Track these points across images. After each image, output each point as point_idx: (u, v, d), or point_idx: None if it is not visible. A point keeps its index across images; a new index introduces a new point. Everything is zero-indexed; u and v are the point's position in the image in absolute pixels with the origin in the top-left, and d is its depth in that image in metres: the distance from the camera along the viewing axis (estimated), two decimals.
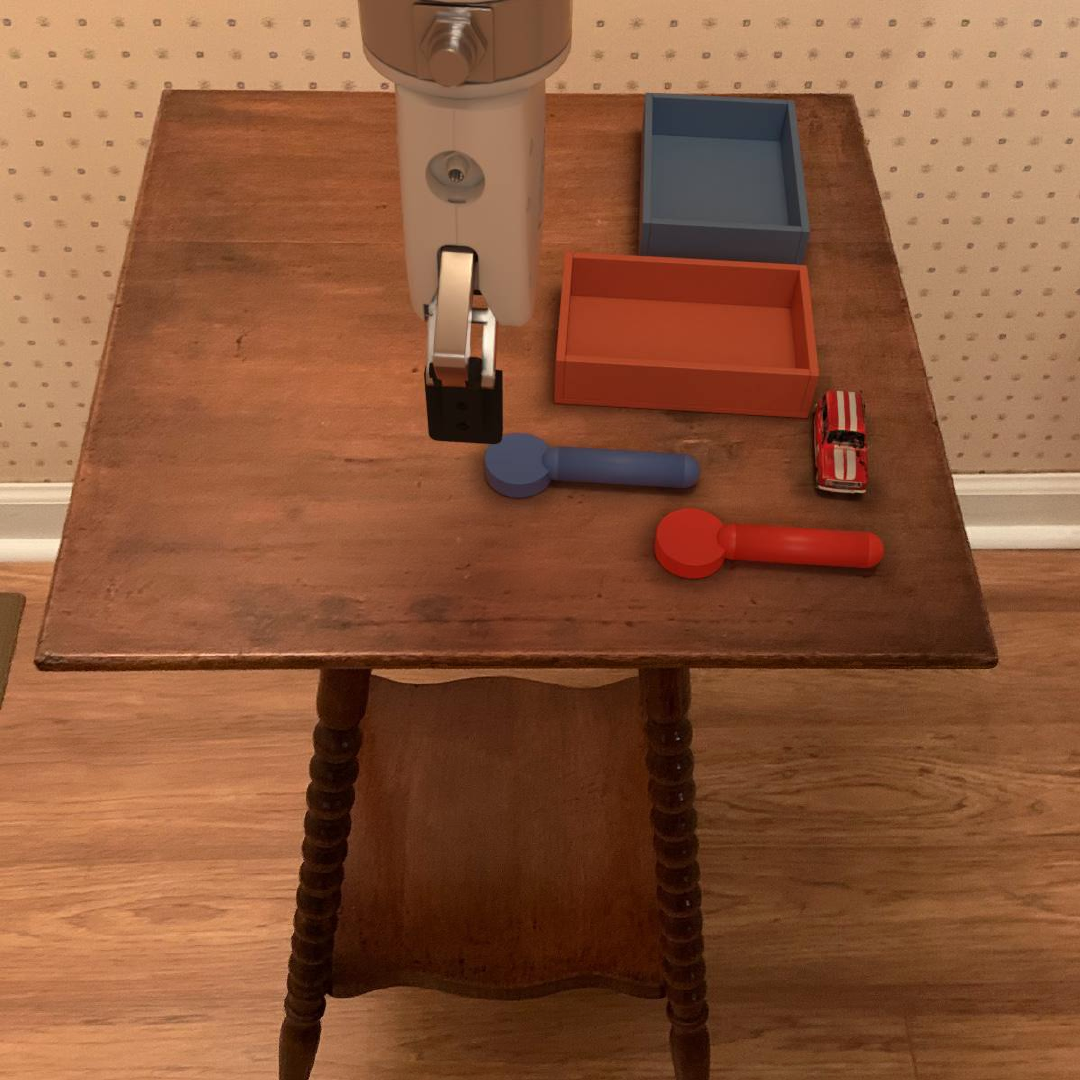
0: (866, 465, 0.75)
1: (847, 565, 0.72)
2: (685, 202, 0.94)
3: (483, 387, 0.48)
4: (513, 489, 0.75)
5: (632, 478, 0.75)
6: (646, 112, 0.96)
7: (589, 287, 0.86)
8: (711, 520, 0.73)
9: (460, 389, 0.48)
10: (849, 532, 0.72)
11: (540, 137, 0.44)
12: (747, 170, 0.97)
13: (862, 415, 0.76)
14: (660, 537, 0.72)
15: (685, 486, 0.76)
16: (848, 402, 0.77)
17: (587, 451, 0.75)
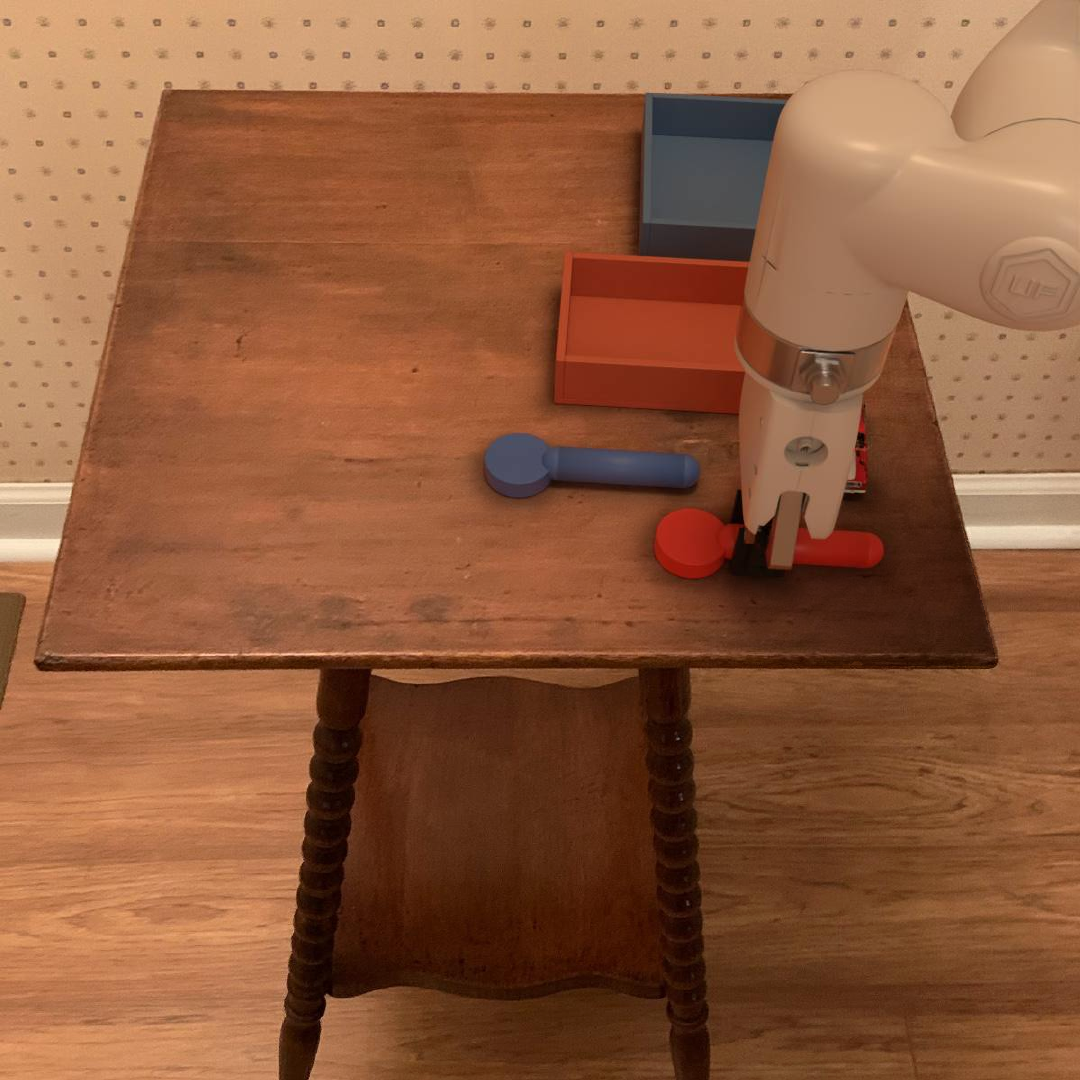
0: (866, 465, 0.75)
1: (847, 565, 0.72)
2: (685, 202, 0.94)
3: None
4: (513, 489, 0.75)
5: (632, 478, 0.75)
6: (646, 112, 0.96)
7: (589, 287, 0.86)
8: (711, 520, 0.73)
9: None
10: (849, 532, 0.72)
11: None
12: (747, 170, 0.97)
13: (862, 415, 0.76)
14: (660, 537, 0.72)
15: (685, 486, 0.76)
16: None
17: (587, 451, 0.75)
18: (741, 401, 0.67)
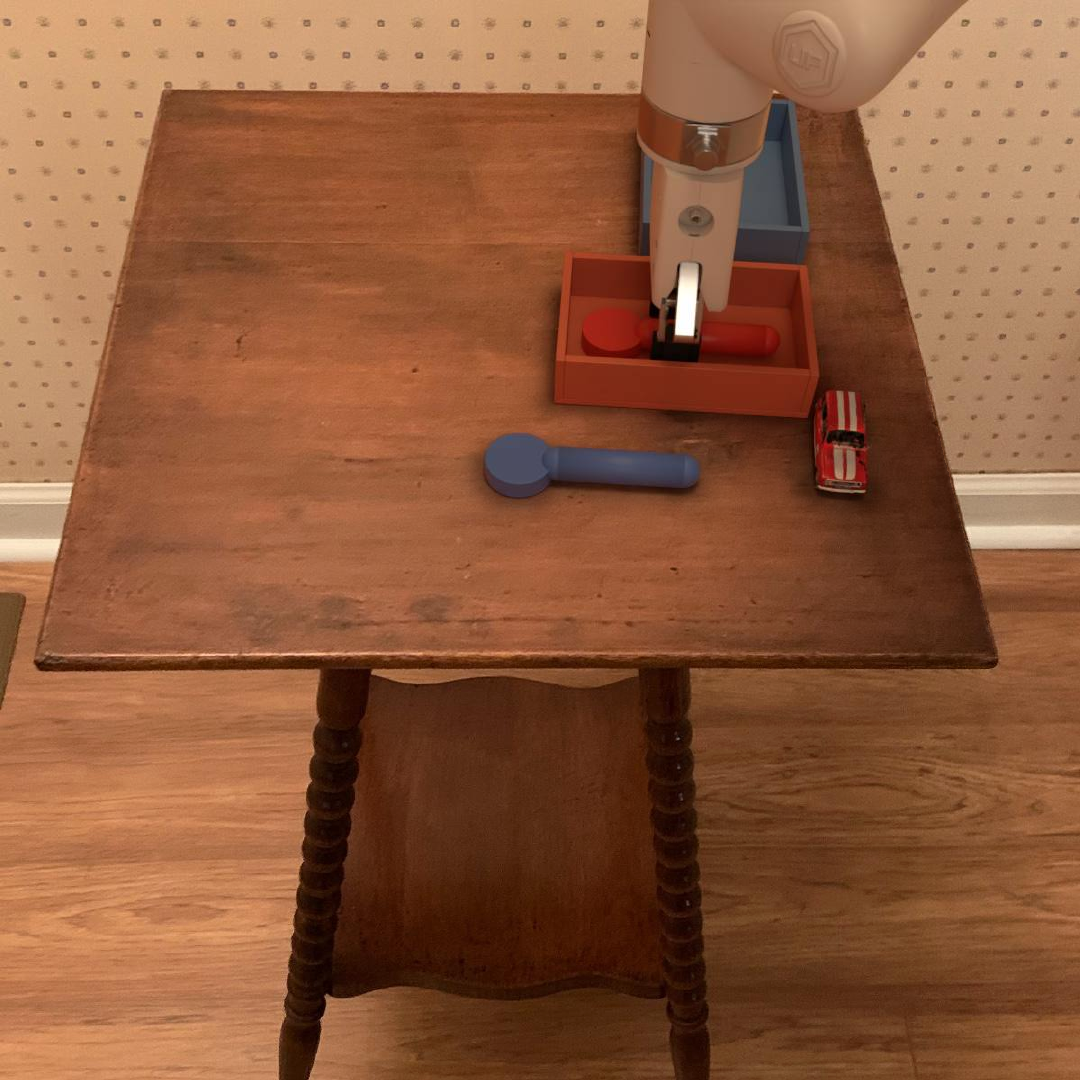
0: (866, 465, 0.75)
1: (748, 353, 0.82)
2: None
3: (692, 344, 0.78)
4: (513, 489, 0.75)
5: (632, 478, 0.75)
6: None
7: (589, 287, 0.86)
8: (630, 317, 0.84)
9: (677, 345, 0.78)
10: (749, 324, 0.82)
11: None
12: (747, 170, 0.97)
13: (862, 415, 0.76)
14: (585, 329, 0.83)
15: (685, 486, 0.76)
16: (848, 402, 0.77)
17: (587, 451, 0.75)
18: None
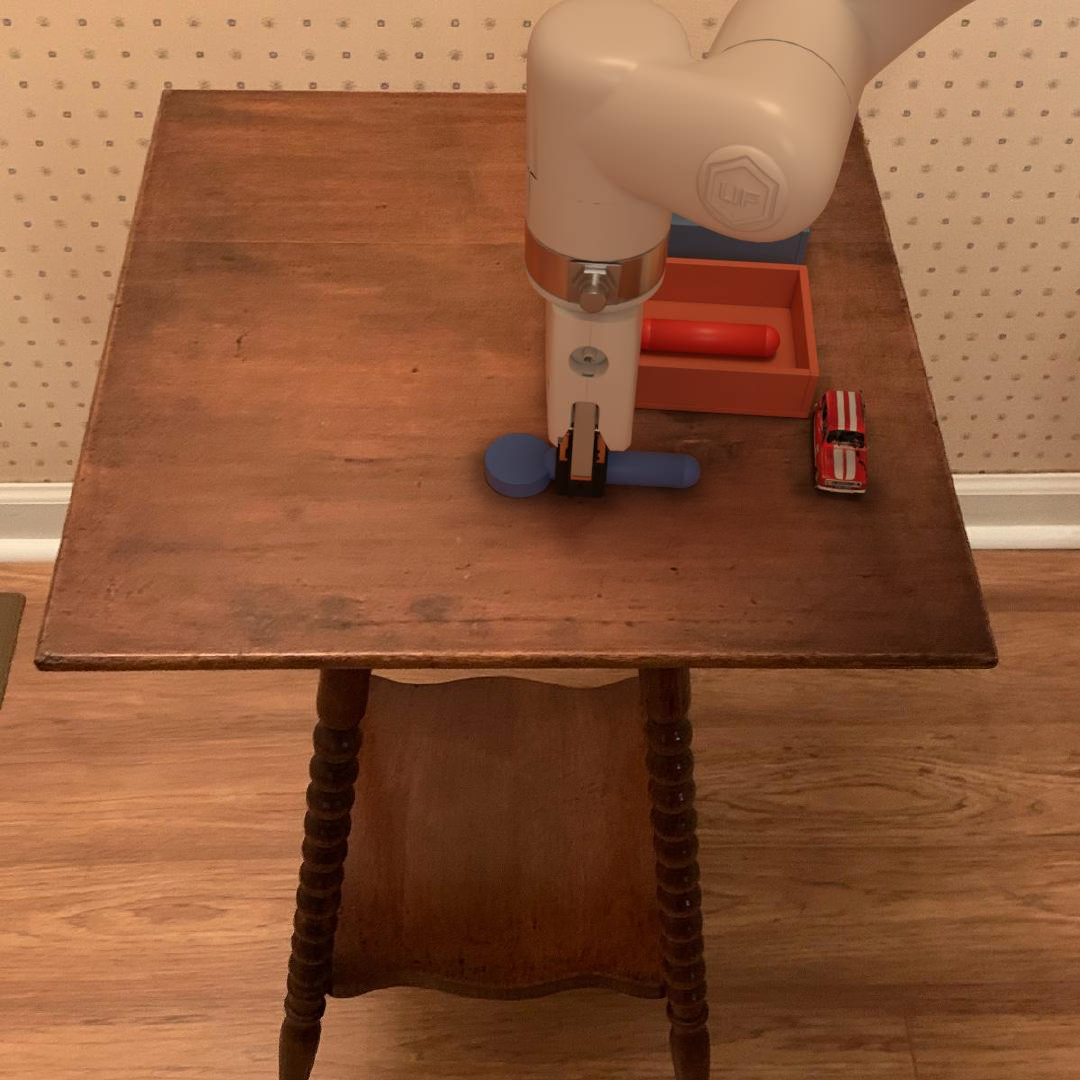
0: (866, 465, 0.75)
1: (748, 353, 0.82)
2: None
3: None
4: (513, 489, 0.75)
5: (632, 478, 0.75)
6: None
7: None
8: None
9: None
10: (749, 324, 0.82)
11: None
12: None
13: (862, 415, 0.76)
14: None
15: (685, 486, 0.76)
16: (848, 402, 0.77)
17: None
18: None
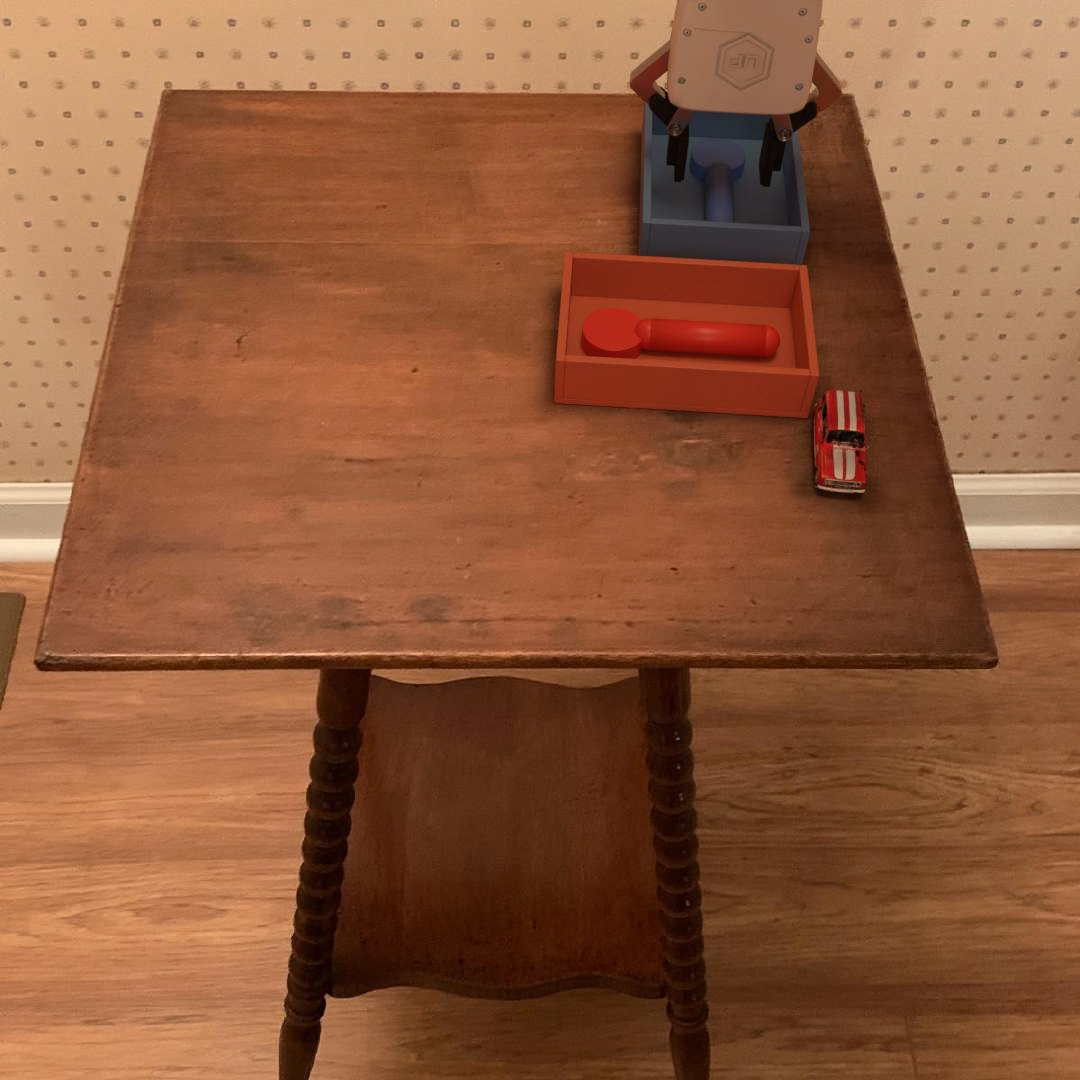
0: (865, 465, 0.75)
1: (748, 353, 0.82)
2: (685, 202, 0.94)
3: None
4: (690, 157, 0.97)
5: (706, 209, 0.92)
6: (646, 112, 0.96)
7: (589, 287, 0.86)
8: (630, 317, 0.84)
9: None
10: (749, 324, 0.82)
11: (728, 22, 0.80)
12: (747, 170, 0.97)
13: (862, 415, 0.76)
14: (585, 329, 0.83)
15: None
16: (848, 402, 0.77)
17: (723, 178, 0.93)
18: None
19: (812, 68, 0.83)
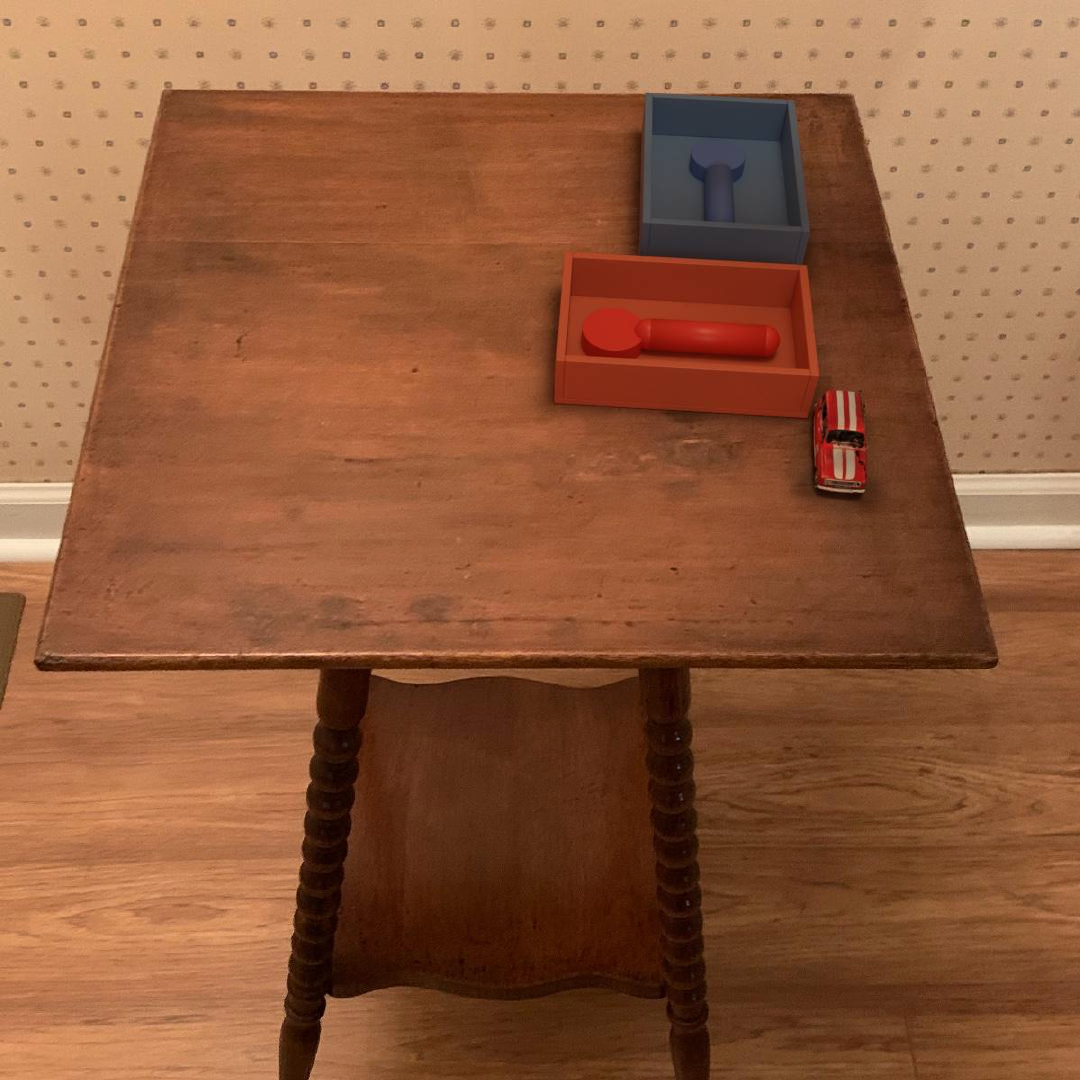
0: (865, 465, 0.75)
1: (748, 353, 0.82)
2: (685, 202, 0.94)
3: None
4: (690, 157, 0.97)
5: (706, 209, 0.92)
6: (646, 112, 0.96)
7: (589, 287, 0.86)
8: (630, 317, 0.84)
9: None
10: (749, 324, 0.82)
11: None
12: (747, 170, 0.97)
13: (861, 415, 0.76)
14: (585, 329, 0.83)
15: None
16: (847, 402, 0.77)
17: (723, 178, 0.93)
18: None
19: None
